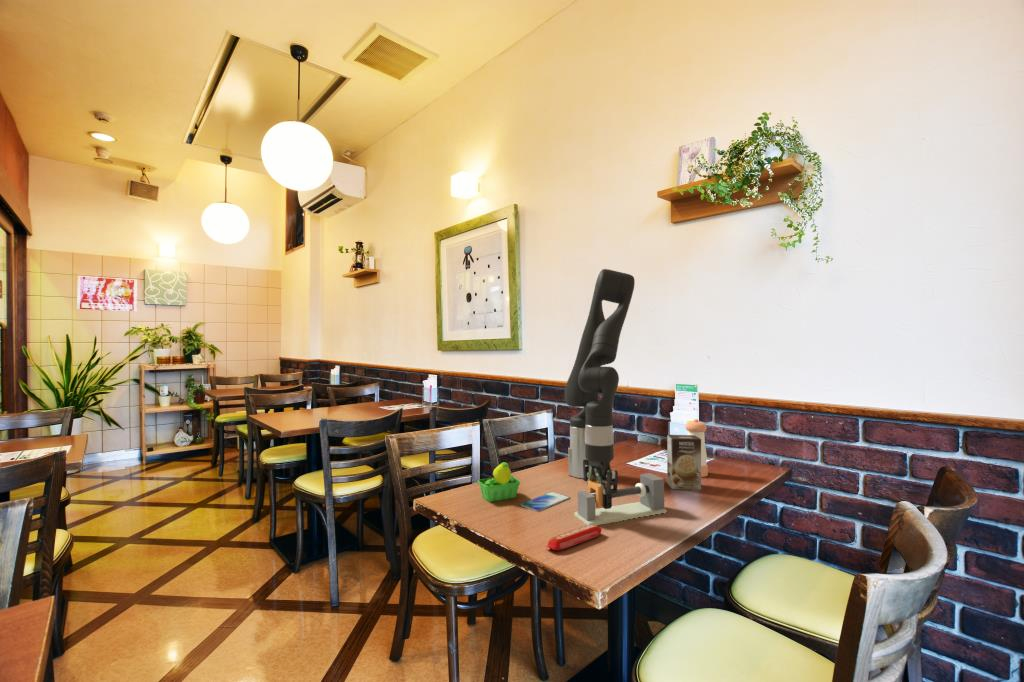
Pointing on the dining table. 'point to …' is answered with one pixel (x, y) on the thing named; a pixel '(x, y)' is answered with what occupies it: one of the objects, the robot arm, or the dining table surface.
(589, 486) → the marker sleeve
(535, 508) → the smartphone
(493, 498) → the fruit basket
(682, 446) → the coffee box
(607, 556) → the dining table surface
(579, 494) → the cord stand
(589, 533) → the candy bar
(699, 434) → the pepper shaker
